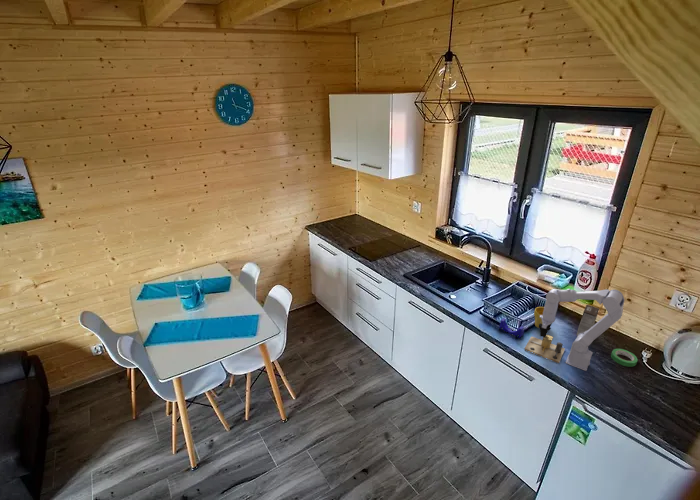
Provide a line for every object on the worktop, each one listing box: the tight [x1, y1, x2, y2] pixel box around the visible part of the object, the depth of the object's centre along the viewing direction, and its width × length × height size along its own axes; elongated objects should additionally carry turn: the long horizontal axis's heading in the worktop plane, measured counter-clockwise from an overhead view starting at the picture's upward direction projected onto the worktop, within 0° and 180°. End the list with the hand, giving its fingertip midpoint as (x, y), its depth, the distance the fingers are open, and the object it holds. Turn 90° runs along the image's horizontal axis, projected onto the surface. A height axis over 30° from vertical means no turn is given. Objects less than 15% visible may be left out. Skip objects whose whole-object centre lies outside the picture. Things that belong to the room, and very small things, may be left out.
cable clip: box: [498, 317, 525, 339], centre depth 222 cm, size 12×4×6 cm, turn 45°
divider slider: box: [541, 334, 554, 352], centre depth 207 cm, size 4×8×6 cm, turn 142°
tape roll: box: [610, 348, 638, 368], centre depth 203 cm, size 11×11×3 cm
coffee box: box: [576, 304, 600, 336], centre depth 219 cm, size 9×6×16 cm
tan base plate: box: [523, 336, 566, 364], centre depth 208 cm, size 17×13×6 cm
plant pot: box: [533, 306, 545, 329], centre depth 227 cm, size 10×10×10 cm
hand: (544, 332), depth 207 cm, fingers open, 7 cm apart
